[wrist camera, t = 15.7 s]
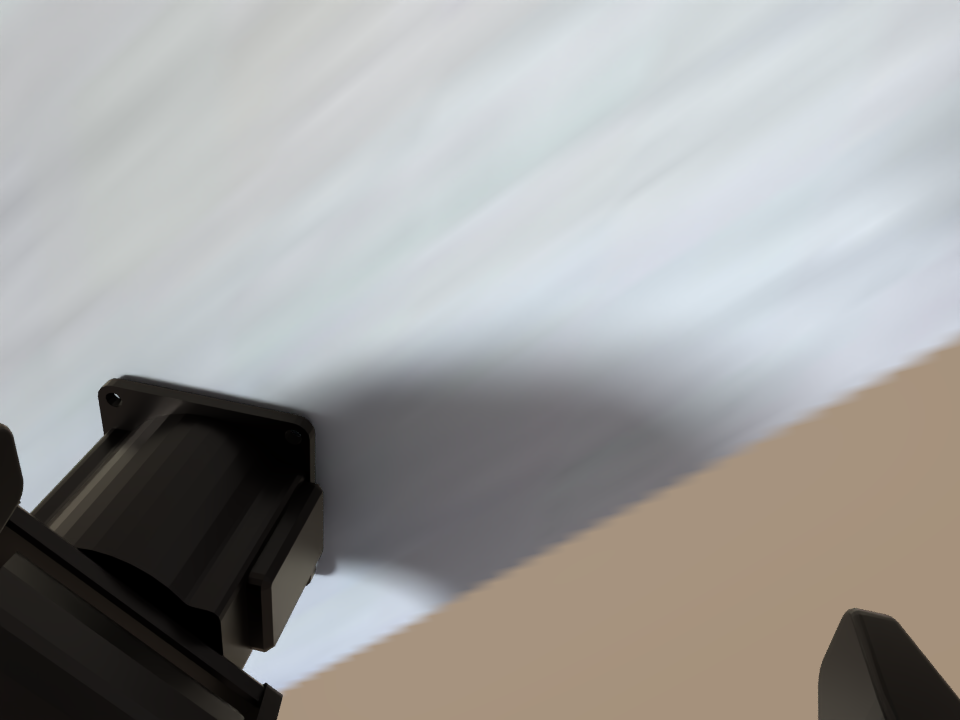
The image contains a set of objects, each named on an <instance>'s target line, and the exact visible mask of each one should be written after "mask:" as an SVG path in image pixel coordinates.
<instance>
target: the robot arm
mask: <svg viewBox="0 0 960 720" xmlns="http://www.w3.org/2000/svg"><path fill="white" fill-rule="evenodd" d="M114 393H115V394H117V395H118V396H119V397H120V398H121V399H119V398H118V397H116V396H115V394H114ZM98 400H99V406H100V412H101V418H102V424H103V431H104V436H103V437H102V438H101V439H100V440H99V441H98V442H97V443H96V444H95V445H94V447H93V448H92V449H91V450H90V451H89V452H88V453H87V454H86V455H85V456H84V457H83V458H82V459H81V460H80V461H79V462H78V463H77V464H76V465H75V466H74V468H73V469H72V470H71V471H70V472H69V473H68V474H67V475H66V476H65V477H64V478H63V479H62V480H61V481H60V482H59V483H58V484H57V485H56V486H55V488H54V489H53V490H52V491H51V492H50V493H49V494H48V495H47V496H46V497H45V498H44V499H43V500H42V501H41V502H40V503H39V504H38V505H37V506H36V507H35V509H34V510H33V511H32V512H31V513H29V512H27V511H26V510H24V509H23V508H22V507H20V506H19V504H20V503H21V502H20V499H21V496H22V492H23V476H22V472H21V468H20V463H19V459H18V455H17V450H16V446H15V441H14V437H13V434H12V432H11V431H10V429H9V428H8V427H7V426H5V425H4V424H1V423H0V720H277V716H278V713H279V709H280V705H281V701H282V697H283V695H282V694H281V693H279V692H278V691H276V690H275V689H274V688H272V687H271V686H270V685H268V684H267V683H265V684H263V685H262V684H261V683H259V682H258V681H257V680H255V679H254V678H253V677H251V676H250V675H249V674H247V673H246V672H244V671H243V670H242V669H243V667H244V665H245V664H246V662H247V660H248V658H249V656H250V654H251V652H252V650H258V651H262V652H267V651H268V650H270V649H271V648H273V647H274V646H275V645H276V643H277V641H278V639H279V637H280V635H281V633H282V631H283V629H284V627H285V625H286V623H287V621H288V619H289V617H290V615H291V613H292V611H293V609H294V607H295V605H296V603H297V601H298V599H299V598H300V596H301V594H302V592H303V590H304V588H305V586H307V585H308V584H309V583H310V582H311V580H312V578H313V576H314V574H315V570H316V564H317V562H318V560H319V558H320V556H321V554H322V552H323V491H322V489H321V487H320V485H319V484H317V483H315V430H314V427H313V425H312V424H311V422H310V421H309V420H307V419H306V418H305V417H302V416H299V415H295V414H290V413H285V412H280V411H276V410H271V409H266V408H261V407H256V406H251V405H246V404H241V403H236V402H231V401H227V400H222V399H217V398H212V397H207V396H202V395H197V394H192V393H187V392H182V391H178V390H173V389H168V388H163V387H158V386H153V385H148V384H143V383H138V382H133V381H129V380H124V379H116V378H113V379H111V380H109V381H108V382H107V383H105V384H104V385H103V386H102V387H101V389H100V390H99V391H98ZM291 430H294V431H297V432H298V433H299V434H300V435H301V436H297V435H294V434H293V433H292V432H291ZM818 720H960V699H959V698H958V696H957V695H956V694H955V693H954V691H953V690H952V689H951V688H950V686H949V685H948V684H947V683H946V681H945V680H944V679H943V678H942V676H941V675H940V674H939V673H938V672H937V670H936V669H935V668H934V666H933V665H932V664H931V663H930V661H929V660H928V659H927V658H926V656H925V655H924V654H923V653H922V652H921V650H920V649H919V648H918V646H917V645H916V644H915V643H914V641H913V640H912V639H911V638H910V636H909V635H908V634H907V633H906V632H905V630H904V629H903V628H902V626H901V625H900V624H899V623H898V622H897V621H896V620H895V619H894V618H892V617H891V616H888V615H886V614H881V613H876V612H872V611H867V610H863V609H858V608H853V609H849V610H848V611H847V612H846V613H845V614H844V615H843V617H842V619H841V621H840V623H839V626H838V628H837V630H836V632H835V634H834V637H833V639H832V641H831V643H830V645H829V648H828V650H827V652H826V654H825V657H824V659H823V661H822V664H821V668H820V673H819V682H818Z"/></svg>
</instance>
